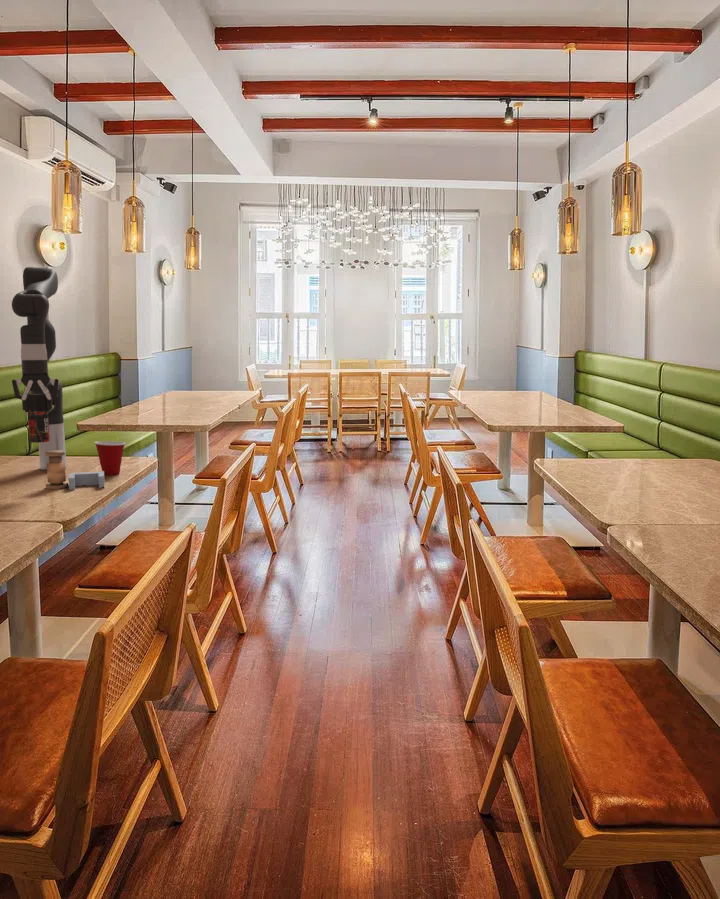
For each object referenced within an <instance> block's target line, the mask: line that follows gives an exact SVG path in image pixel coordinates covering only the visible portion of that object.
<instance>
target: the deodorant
mask: <svg viewBox="0 0 720 899" xmlns="http://www.w3.org/2000/svg"><path fill="white" fill-rule="evenodd" d="M27 409H28V412H27V421H28V422H27V423H28V437H29V438H28V440H29V443H38V444H39V442H48V441H50V437H49V422H48V411H47V397H46V395H45V394H31V393H29V394H28V395H27Z"/></svg>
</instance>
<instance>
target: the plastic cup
mask: <svg viewBox="0 0 720 899" xmlns="http://www.w3.org/2000/svg"><path fill="white" fill-rule="evenodd" d="M94 445H95V447H96V451H97V453H98V459H99V463H100V464H99V465H100V468H101V471H104V476H118V475H120V472H121V466H122V458H123V452H124V448H125V445H126V442H125V441H118V440H117V441H115V440H113V441H112V440H100V441H99V440H98V441H94Z"/></svg>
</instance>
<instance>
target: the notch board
mask: <svg viewBox="0 0 720 899" xmlns="http://www.w3.org/2000/svg"><path fill="white" fill-rule="evenodd" d="M67 480H68V491H74V490H73V489H75V490H76V487H83V486H82V485H87V486H98V489H103V488H102V487H104V485H105V484H106V483H105V475H104V471H102V470H101V471H88V472H87V471H86V472H83V471H82V472H70V473H69V474H68V479H67ZM97 484H99V485H97ZM75 486H76V487H75Z"/></svg>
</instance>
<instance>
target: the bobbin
mask: <svg viewBox="0 0 720 899" xmlns="http://www.w3.org/2000/svg"><path fill="white" fill-rule="evenodd" d="M65 452H66V450H65V451H61V450H56V451H47V452H45V456H49V462H47V470H46V473H47V483H46V484H45V489H46V488H47V489H46V490H53V489H54V490H62V489H61V488H64V489H66V488H65V487H67V488H69V482H66V479H67V477H66V468H65V462H64V461H62V455H65Z"/></svg>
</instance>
